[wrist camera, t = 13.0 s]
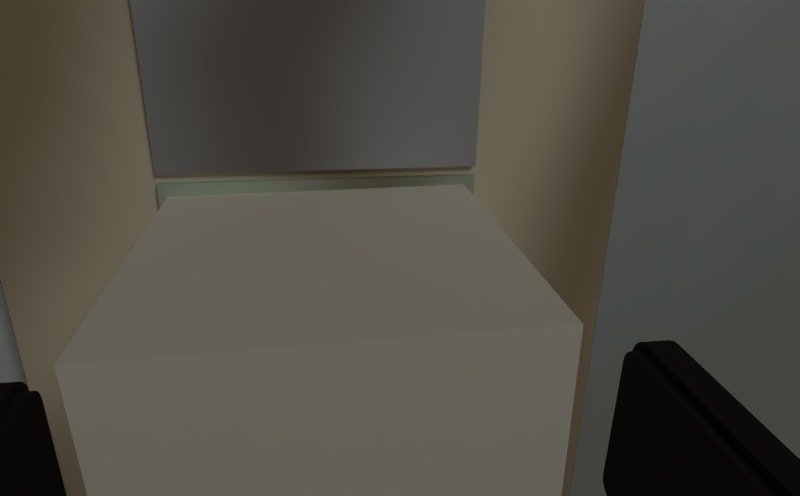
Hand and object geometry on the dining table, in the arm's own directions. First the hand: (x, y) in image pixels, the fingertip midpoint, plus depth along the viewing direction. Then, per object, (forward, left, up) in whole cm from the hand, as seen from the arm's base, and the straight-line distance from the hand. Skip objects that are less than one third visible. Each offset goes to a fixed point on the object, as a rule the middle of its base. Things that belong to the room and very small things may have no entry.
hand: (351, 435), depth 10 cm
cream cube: (0, 0, -4) cm, 4 cm away
